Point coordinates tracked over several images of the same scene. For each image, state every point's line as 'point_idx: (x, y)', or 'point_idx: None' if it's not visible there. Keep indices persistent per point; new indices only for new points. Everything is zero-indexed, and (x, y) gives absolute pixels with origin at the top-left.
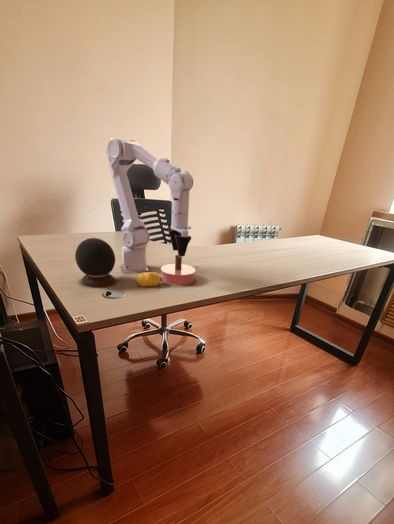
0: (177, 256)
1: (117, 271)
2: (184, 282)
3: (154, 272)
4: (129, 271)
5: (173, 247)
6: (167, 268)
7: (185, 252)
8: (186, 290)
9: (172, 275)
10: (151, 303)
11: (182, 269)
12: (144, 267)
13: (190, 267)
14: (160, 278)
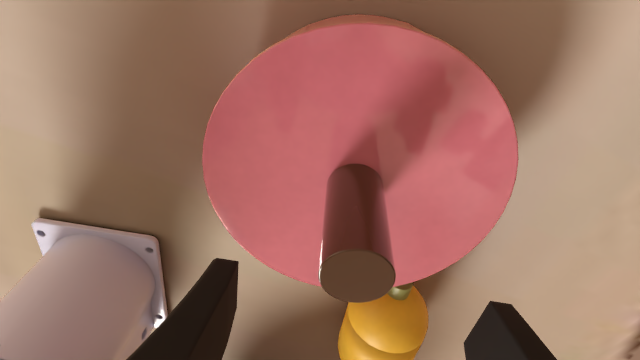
0: (380, 297)
1: None
2: None
3: (389, 344)
4: (165, 314)
5: (226, 343)
6: (314, 248)
7: (545, 346)
8: (544, 163)
9: (448, 259)
10: (565, 345)
11: (376, 159)
12: (130, 264)
13: (348, 57)
14: (407, 294)
